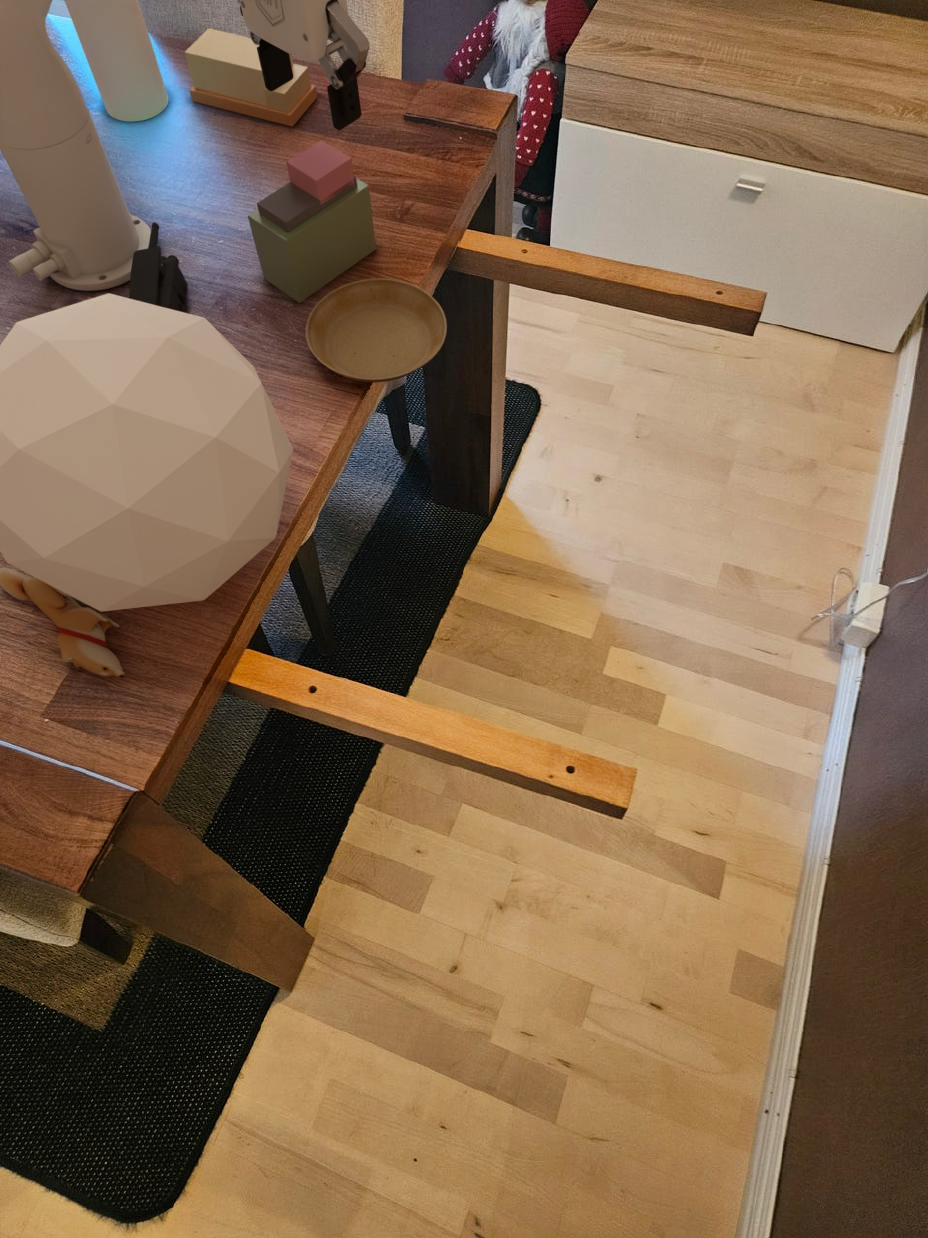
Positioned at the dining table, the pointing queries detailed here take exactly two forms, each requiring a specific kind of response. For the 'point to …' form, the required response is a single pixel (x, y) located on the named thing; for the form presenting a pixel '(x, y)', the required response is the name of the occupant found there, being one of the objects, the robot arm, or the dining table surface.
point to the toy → (68, 623)
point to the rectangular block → (315, 244)
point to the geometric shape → (134, 454)
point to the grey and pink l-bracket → (309, 186)
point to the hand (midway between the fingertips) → (313, 103)
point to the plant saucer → (376, 329)
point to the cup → (120, 57)
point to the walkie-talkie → (157, 277)
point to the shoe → (244, 80)
